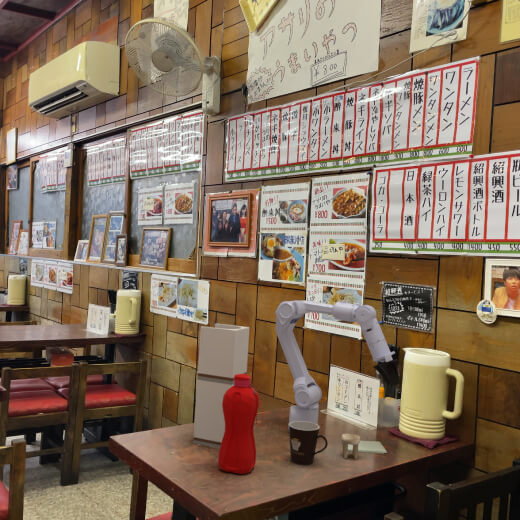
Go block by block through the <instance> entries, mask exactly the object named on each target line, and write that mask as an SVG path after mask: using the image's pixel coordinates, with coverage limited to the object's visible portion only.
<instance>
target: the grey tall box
mask: <svg viewBox="0 0 520 520" xmlns="http://www.w3.org/2000/svg"><path fill="white" fill-rule="evenodd" d="M199 332H200V333H199V346H198V347H199V348H198V362H197V363H198V364H197V378H196V392H195V408H194V409H195V411H194V424H193V441H192V444H193V443H195V444H194V445H196V444H200V445H199V446H201V445H205V446H204V447H206V446H209V447H208V448H211V447H214V448H213V449H216V448H218V449H217V450H220V446H221V443H222V439H223V436H224V432H225V420H224V414H223V408H222V402H223V397H224V394H225V393H226V391H227V390H228V389H229V388H230V387H232V386H234V379H233V377H234V376H235V375H236V374H246V375H248V358H249V341H250V340H249V339H250V327H249V326H243V325H242V326H240V325H234V324H224V323H214V327H211V326H203V325H202V326H200V330H199Z"/></svg>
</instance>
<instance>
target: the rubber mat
mask: <svg viewBox="0 0 520 520" xmlns="http://www.w3.org/2000/svg"><path fill="white" fill-rule="evenodd" d="M348 452H353V445H350V444H348ZM358 453H369V454H384V453H388V451H387V450H386V448H385V447H384V446H383V444H382V443H381V441H374V440H373V441H372V440H360V443H359V444H358Z"/></svg>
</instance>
